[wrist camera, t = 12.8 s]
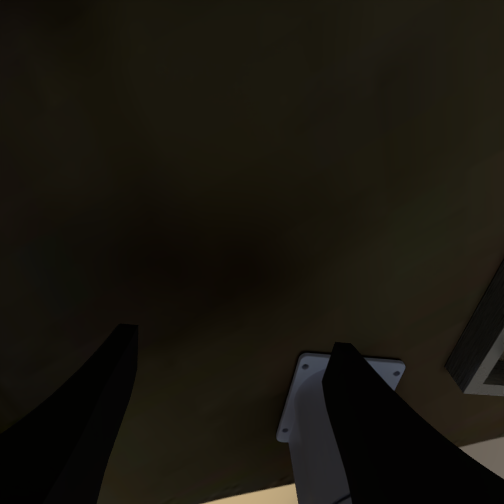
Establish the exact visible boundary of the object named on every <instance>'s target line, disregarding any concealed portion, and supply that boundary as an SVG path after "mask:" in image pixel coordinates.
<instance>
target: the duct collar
mask: <svg viewBox="0 0 504 504" xmlns="http://www.w3.org/2000/svg"><path fill="white" fill-rule="evenodd" d="M503 352H504V260H503V262H502V264H501V266H500V267H499V269H498V271H497V273H496V275H495V276H494V278H493V280H492V282H491V284H490V285H489V287H488V289H487V291H486V293H485V295H484V296H483V298H482V300H481V302H480V304H479V305H478V307H477V309H476V311H475V313H474V314H473V316H472V318H471V320H470V322H469V323H468V325H467V327H466V329H465V331H464V332H463V334H462V336H461V338H460V340H459V341H458V343H457V345H456V347H455V349H454V350H453V352H452V354H451V356H450V358H449V359H448V361H447V363H446V365H445V368H446V369H447V371H448V372H449V374H450V375H451V377H452V378H453V379H454V381H455V382H456V384H457V385H458V386H459V388H460V389H461V391H462V392H463V393H466V394H480V395H495V396H504V361H498V359H499V358H500V356H501V355H502V353H503Z"/></svg>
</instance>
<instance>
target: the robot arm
mask: <svg viewBox="0 0 504 504" xmlns="http://www.w3.org/2000/svg"><path fill="white" fill-rule="evenodd" d="M137 355H138V325H130V324H119V325H118V326H117V327H116V328H115V329H114V330H113V332H112V333H111V334H110V335H109V337H108V338H107V339H106V340H105V341H104V343H103V344H102V345H101V346H100V347H99V348H98V349H97V351H96V352H95V353H94V354H93V355H92V356H91V357H90V358H89V359H88V360H87V361H86V362H85V363H84V364H83V366H82V367H81V368H80V369H79V370H78V371H76V372H75V373H74V374H73V375H72V376H71V377H70V378H69V379H68V380H67V381H66V382H65V383H64V384H63V385H62V386H61V387H60V388H59V389H57V390H56V391H55V392H54V393H53V394H52V395H51V396H49V397H48V398H47V399H46V400H45V401H43V402H42V403H41V404H40V405H39V406H37V407H36V408H35V409H34V410H32V411H31V412H30V413H28V414H27V415H26V416H25V417H23V418H22V419H21V420H19V421H18V422H17V423H15V424H14V425H13V426H11V427H10V428H8V429H7V430H6V431H4V432H3V433H1V434H0V504H96V503H97V499H98V496H99V492H100V488H101V484H102V480H103V476H104V472H105V469H106V466H107V463H108V459H109V456H110V454H111V451H112V448H113V445H114V442H115V439H116V437H117V434H118V431H119V428H120V425H121V423H122V420H123V417H124V414H125V411H126V408H127V405H128V402H129V400H130V397H131V393H132V389H133V384H134V380H135V376H136V371H137ZM304 364H307V365H304ZM404 370H405V365H404V363H403V362H402V361H400V360H390V359H377V358H365V357H363V356H362V355H361V354H360V353H359V352H358V351H357V349H356V348H355V347H354V346H353V345H352V344H351V343H341V342H335V344H334V347H333V350H332V353H331V355H327V354H315V353H304V354H302V355H300V357H299V360H298V363H297V366H296V370H295V373H294V376H293V380H292V383H291V387H290V390H289V393H288V397H287V400H286V403H285V407H284V410H283V413H282V417H281V420H280V423H279V427H278V430H277V433H276V438H277V440H278V441H279V442H289V449H290V455H291V461H292V467H293V473H294V479H295V485H296V491H297V498H298V504H504V479H502V478H501V477H499V476H498V475H496V474H495V473H493V472H492V471H490V470H489V469H487V468H486V467H484V466H483V465H481V464H480V463H479V462H477V461H476V460H474V459H473V458H472V457H470V456H469V455H467V454H466V453H465V452H463V451H462V450H461V449H460V448H458V447H457V446H456V445H454V444H453V443H452V442H450V441H449V440H448V439H447V438H445V437H444V436H443V435H442V434H440V433H439V432H438V431H437V430H436V429H434V428H433V427H432V426H431V425H430V424H429V423H427V422H426V421H425V420H424V419H423V418H422V417H421V416H419V415H418V414H417V413H416V412H415V411H414V410H413V409H412V408H411V407H410V406H409V405H408V404H407V403H406V402H405V401H404V400H403V399H402V398H401V397H400V396H399V395H398V394H397V393H396V392H395V391H394V390H395V388H396V386H397V384H398V382H399V380H400V378H401V376H402V374H403V372H404Z"/></svg>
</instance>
